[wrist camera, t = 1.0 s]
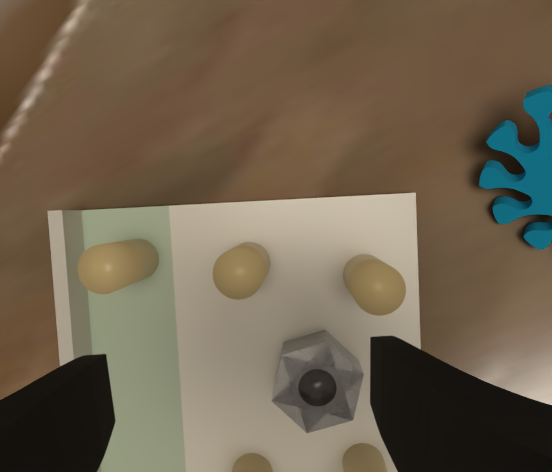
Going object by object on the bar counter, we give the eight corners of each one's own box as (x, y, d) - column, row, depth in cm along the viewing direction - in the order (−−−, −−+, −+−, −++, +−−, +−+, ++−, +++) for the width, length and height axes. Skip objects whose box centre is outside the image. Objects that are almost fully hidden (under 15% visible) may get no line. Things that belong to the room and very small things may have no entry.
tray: (420, 492, 25) (454, 570, 20) (98, 495, 26) (46, 570, 21) (410, 193, 24) (443, 187, 19) (77, 211, 25) (16, 210, 20)
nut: (369, 395, 24) (376, 414, 22) (285, 419, 24) (284, 440, 22) (346, 323, 24) (351, 334, 22) (262, 348, 24) (258, 362, 22)
